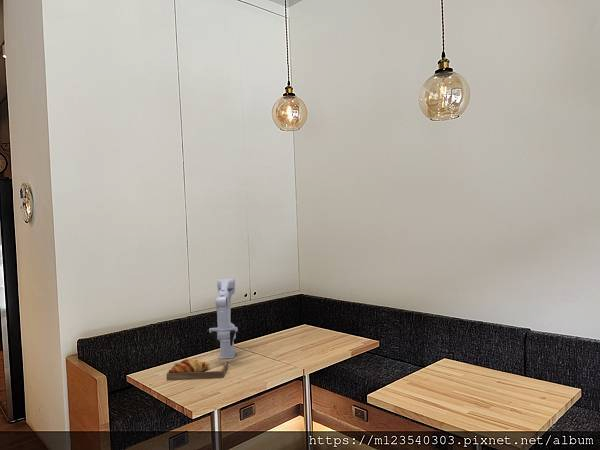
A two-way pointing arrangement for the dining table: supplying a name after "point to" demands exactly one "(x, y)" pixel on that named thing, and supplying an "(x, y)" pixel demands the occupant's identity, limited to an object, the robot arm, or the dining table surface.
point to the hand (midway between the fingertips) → (224, 345)
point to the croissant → (190, 366)
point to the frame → (197, 374)
